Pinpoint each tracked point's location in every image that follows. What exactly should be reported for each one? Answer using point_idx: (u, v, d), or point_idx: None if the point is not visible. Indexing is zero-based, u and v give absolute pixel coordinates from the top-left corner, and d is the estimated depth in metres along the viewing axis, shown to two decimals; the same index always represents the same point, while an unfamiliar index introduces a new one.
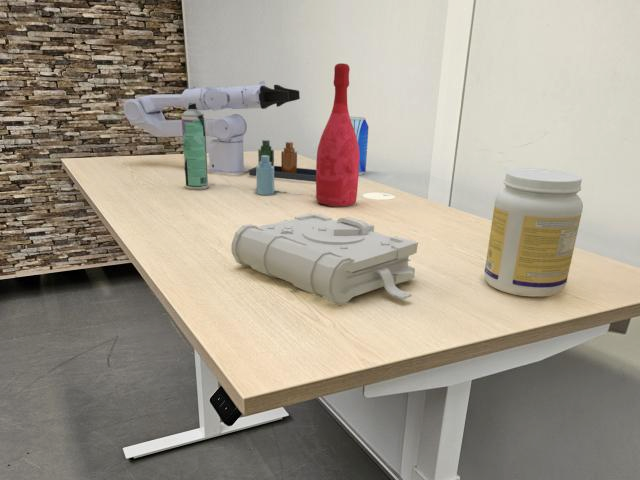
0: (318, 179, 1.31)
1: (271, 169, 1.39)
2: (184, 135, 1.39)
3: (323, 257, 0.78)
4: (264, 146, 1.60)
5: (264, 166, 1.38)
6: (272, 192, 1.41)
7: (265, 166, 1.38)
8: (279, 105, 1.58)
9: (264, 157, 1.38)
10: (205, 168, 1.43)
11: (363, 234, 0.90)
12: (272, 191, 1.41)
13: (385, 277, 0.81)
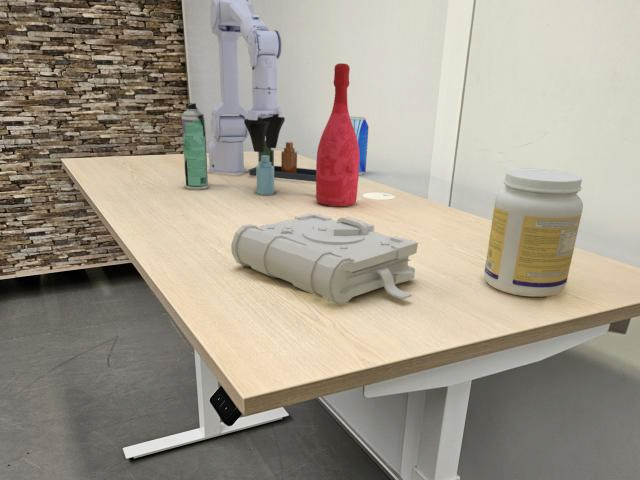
0: (318, 179, 1.31)
1: (271, 169, 1.39)
2: (184, 135, 1.39)
3: (323, 257, 0.78)
4: (264, 146, 1.60)
5: (264, 166, 1.38)
6: (272, 192, 1.41)
7: (265, 166, 1.38)
8: (262, 120, 1.40)
9: (264, 157, 1.38)
10: (205, 168, 1.43)
11: (363, 234, 0.90)
12: (272, 191, 1.41)
13: (385, 277, 0.81)
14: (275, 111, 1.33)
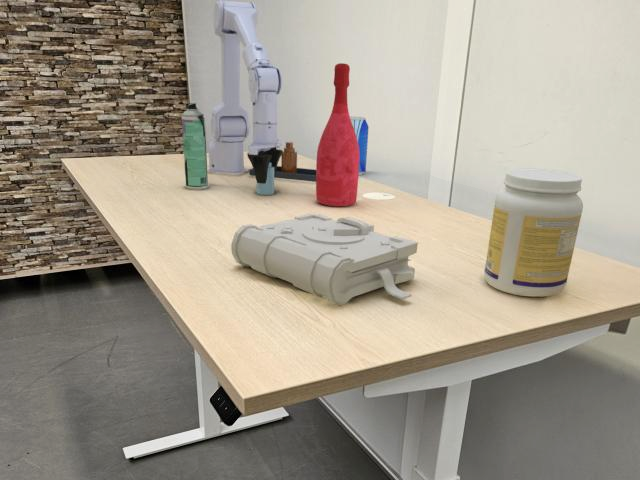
0: (318, 179, 1.31)
1: (271, 169, 1.39)
2: (184, 135, 1.39)
3: (323, 257, 0.78)
4: None
5: None
6: (272, 192, 1.41)
7: None
8: None
9: None
10: (205, 168, 1.43)
11: (363, 234, 0.90)
12: (272, 191, 1.41)
13: (385, 277, 0.81)
14: (275, 145, 1.36)
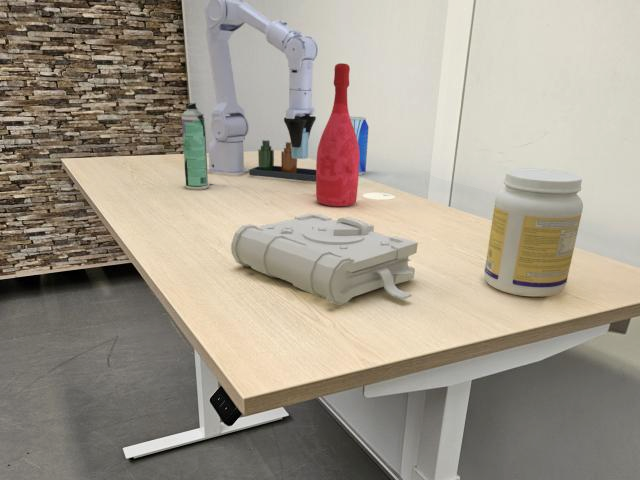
0: (318, 179, 1.31)
1: (306, 134, 1.47)
2: (184, 135, 1.39)
3: (323, 257, 0.78)
4: (264, 146, 1.60)
5: None
6: (306, 156, 1.50)
7: None
8: None
9: None
10: (205, 168, 1.43)
11: (363, 234, 0.90)
12: (306, 155, 1.50)
13: (385, 277, 0.81)
14: (310, 110, 1.45)
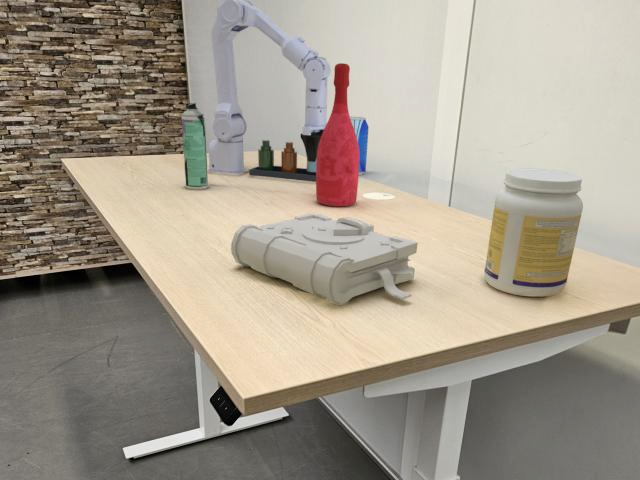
0: (318, 179, 1.31)
1: None
2: (184, 135, 1.39)
3: (323, 257, 0.78)
4: (264, 146, 1.60)
5: None
6: None
7: None
8: None
9: None
10: (205, 168, 1.43)
11: (363, 234, 0.90)
12: None
13: (385, 277, 0.81)
14: None
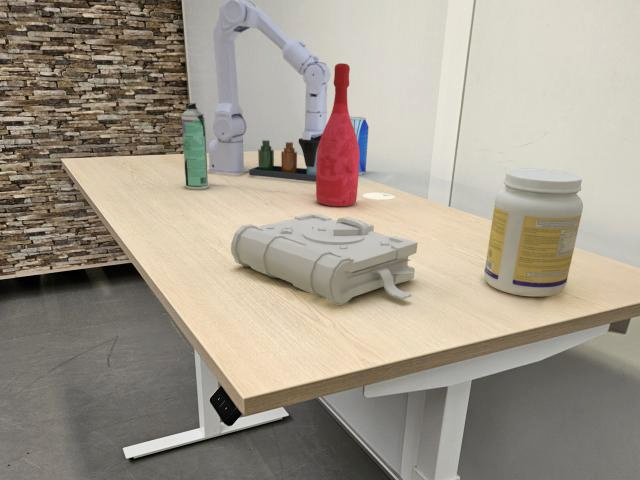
0: (318, 179, 1.31)
1: None
2: (184, 135, 1.39)
3: (323, 258, 0.78)
4: (264, 146, 1.60)
5: None
6: None
7: None
8: None
9: None
10: (205, 168, 1.43)
11: (363, 234, 0.90)
12: None
13: (385, 277, 0.81)
14: None
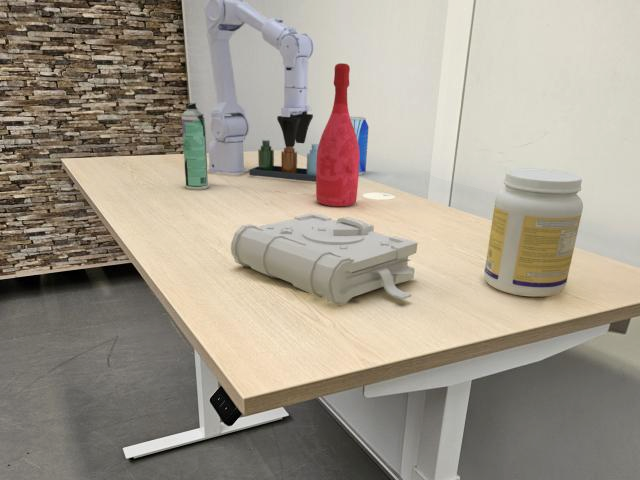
0: (318, 179, 1.31)
1: None
2: (184, 135, 1.39)
3: (323, 258, 0.78)
4: (264, 146, 1.60)
5: (314, 153, 1.56)
6: None
7: (315, 153, 1.56)
8: None
9: (314, 145, 1.55)
10: (205, 168, 1.43)
11: (363, 234, 0.90)
12: None
13: (385, 277, 0.81)
14: (305, 108, 1.43)
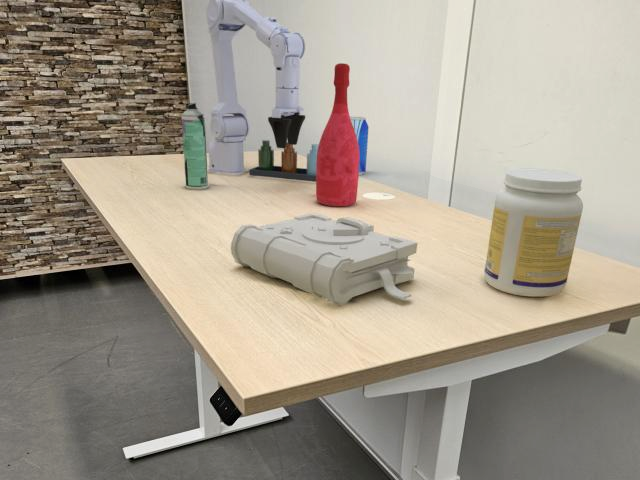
0: (318, 179, 1.31)
1: None
2: (184, 135, 1.39)
3: (323, 258, 0.78)
4: (264, 146, 1.60)
5: (314, 153, 1.56)
6: None
7: (315, 153, 1.56)
8: (284, 118, 1.47)
9: (314, 145, 1.55)
10: (205, 168, 1.43)
11: (363, 234, 0.90)
12: None
13: (385, 277, 0.81)
14: (297, 109, 1.40)
